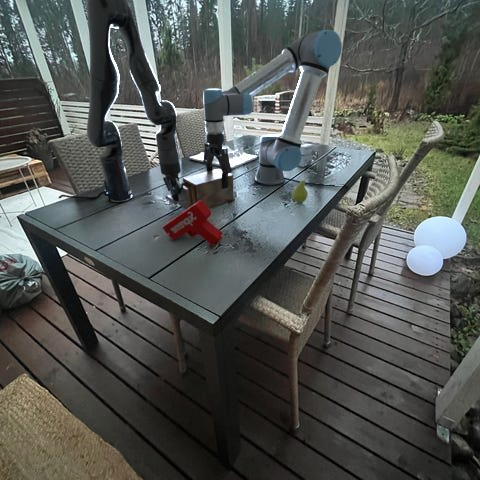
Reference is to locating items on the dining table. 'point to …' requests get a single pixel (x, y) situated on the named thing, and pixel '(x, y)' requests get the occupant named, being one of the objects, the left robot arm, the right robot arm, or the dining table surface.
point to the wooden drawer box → (211, 187)
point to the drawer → (185, 196)
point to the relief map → (234, 157)
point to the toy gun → (194, 224)
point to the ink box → (306, 154)
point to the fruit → (300, 192)
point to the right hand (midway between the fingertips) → (217, 184)
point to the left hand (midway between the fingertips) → (176, 202)
